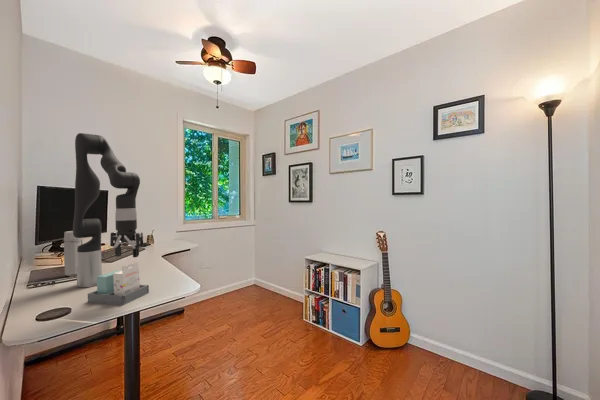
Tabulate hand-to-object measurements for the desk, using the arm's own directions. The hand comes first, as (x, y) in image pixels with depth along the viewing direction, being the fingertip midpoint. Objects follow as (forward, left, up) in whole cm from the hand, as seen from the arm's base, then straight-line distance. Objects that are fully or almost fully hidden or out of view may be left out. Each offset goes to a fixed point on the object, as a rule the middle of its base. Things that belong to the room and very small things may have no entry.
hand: (127, 256), depth 110 cm
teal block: (-8, 0, -18) cm, 20 cm away
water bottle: (-60, +25, -19) cm, 68 cm away
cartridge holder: (-4, 0, -18) cm, 19 cm away
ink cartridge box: (0, 0, -18) cm, 18 cm away
